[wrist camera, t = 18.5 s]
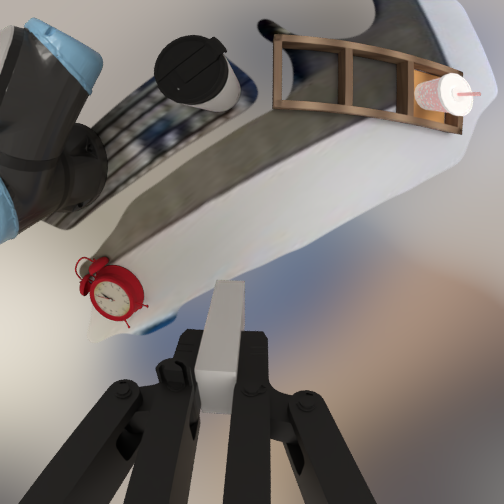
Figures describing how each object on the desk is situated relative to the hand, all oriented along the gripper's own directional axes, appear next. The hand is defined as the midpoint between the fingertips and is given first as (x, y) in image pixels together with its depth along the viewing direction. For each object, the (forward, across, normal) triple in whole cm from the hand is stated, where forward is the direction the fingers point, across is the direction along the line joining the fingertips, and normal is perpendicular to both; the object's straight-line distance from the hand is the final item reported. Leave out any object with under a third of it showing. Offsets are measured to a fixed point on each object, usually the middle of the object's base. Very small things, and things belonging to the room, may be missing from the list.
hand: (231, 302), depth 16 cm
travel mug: (+31, -4, +14) cm, 34 cm away
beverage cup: (+30, +28, +17) cm, 44 cm away
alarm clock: (+31, -26, -18) cm, 44 cm away
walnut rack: (+30, +18, +17) cm, 39 cm away
